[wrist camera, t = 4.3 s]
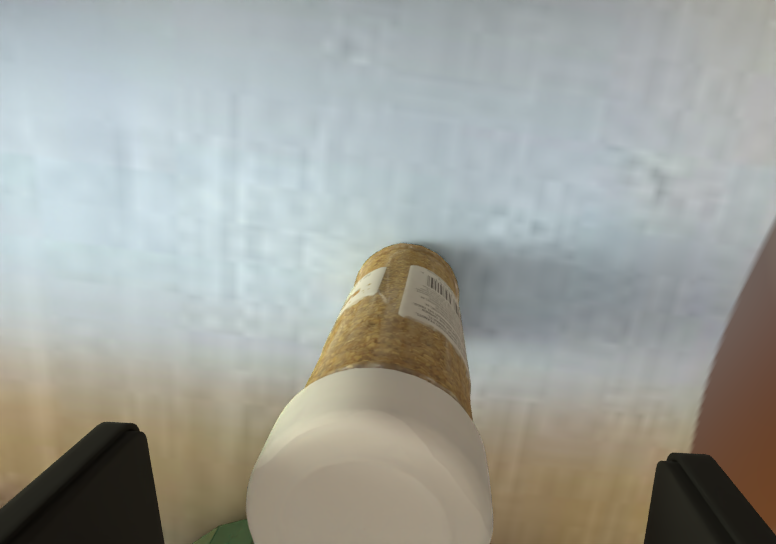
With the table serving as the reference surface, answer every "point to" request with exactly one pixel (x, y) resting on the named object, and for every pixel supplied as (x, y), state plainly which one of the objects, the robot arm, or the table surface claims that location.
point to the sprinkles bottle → (380, 423)
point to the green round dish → (228, 534)
